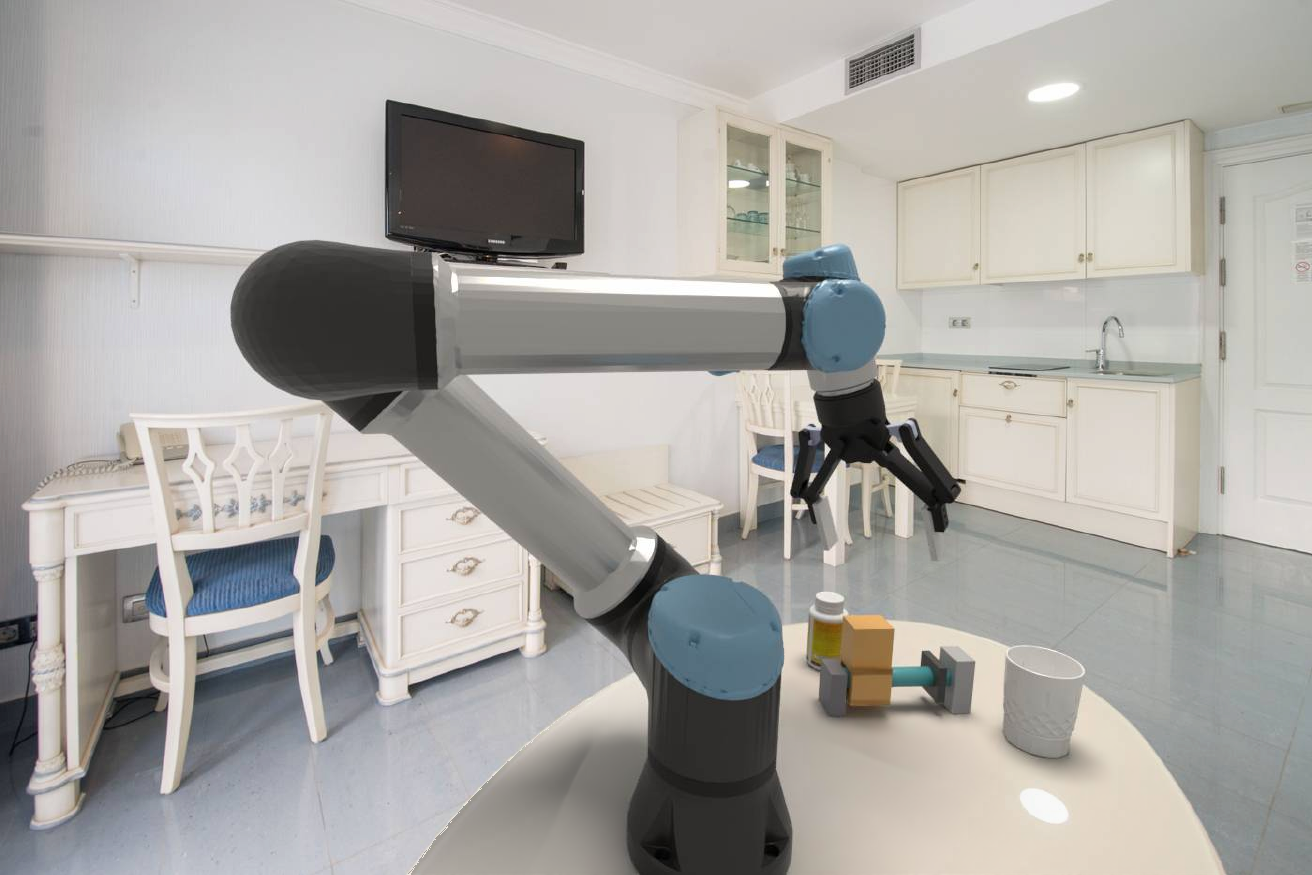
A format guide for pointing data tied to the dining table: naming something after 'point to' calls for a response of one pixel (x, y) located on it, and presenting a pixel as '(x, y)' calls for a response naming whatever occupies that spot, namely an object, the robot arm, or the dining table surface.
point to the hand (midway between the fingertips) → (881, 550)
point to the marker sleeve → (867, 659)
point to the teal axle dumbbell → (910, 680)
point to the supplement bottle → (825, 628)
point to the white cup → (1041, 699)
